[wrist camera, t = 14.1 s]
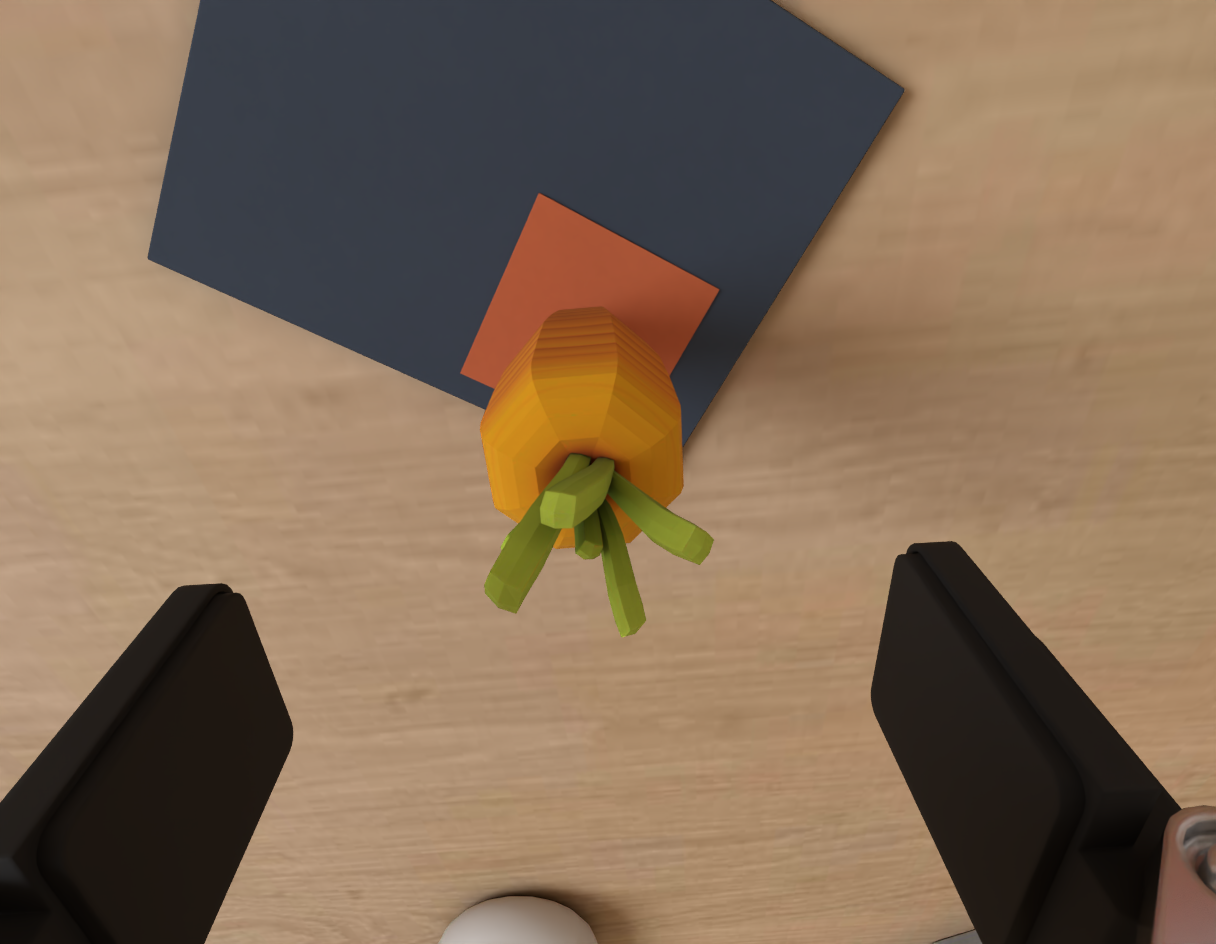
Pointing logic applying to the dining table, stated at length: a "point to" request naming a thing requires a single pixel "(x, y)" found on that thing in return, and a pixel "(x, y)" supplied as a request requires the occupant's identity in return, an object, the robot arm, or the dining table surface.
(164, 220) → the mat
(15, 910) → the robot arm
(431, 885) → the dining table surface
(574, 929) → the donut
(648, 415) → the carrot
